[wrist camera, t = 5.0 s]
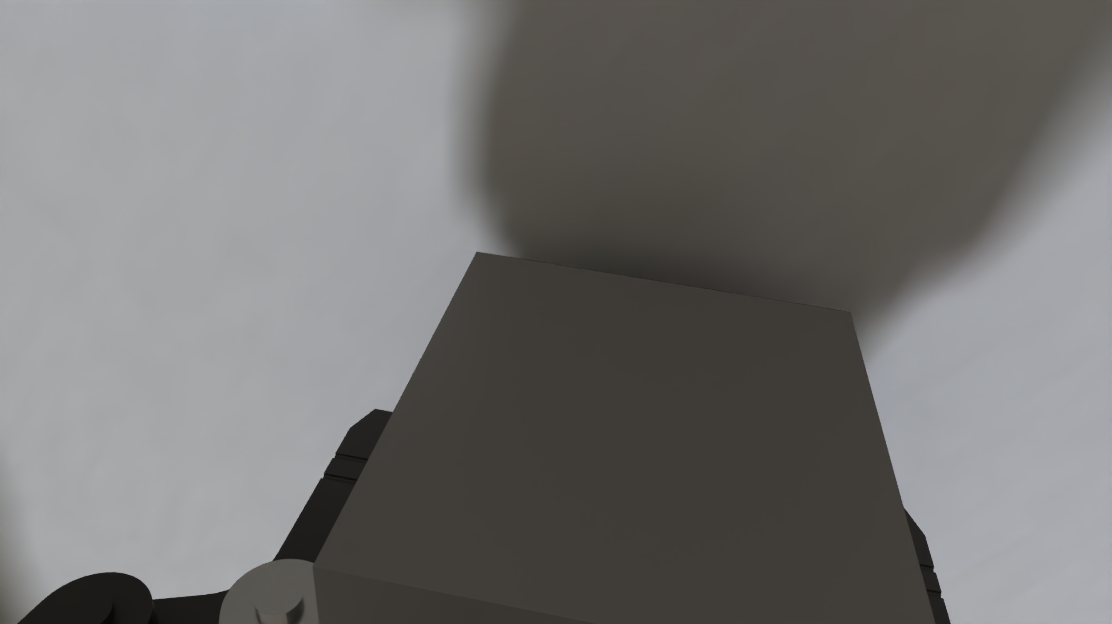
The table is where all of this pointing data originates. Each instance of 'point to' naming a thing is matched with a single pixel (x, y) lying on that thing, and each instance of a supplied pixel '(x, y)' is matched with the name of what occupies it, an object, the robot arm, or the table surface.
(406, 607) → the hollow square tube
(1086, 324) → the table surface
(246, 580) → the robot arm
